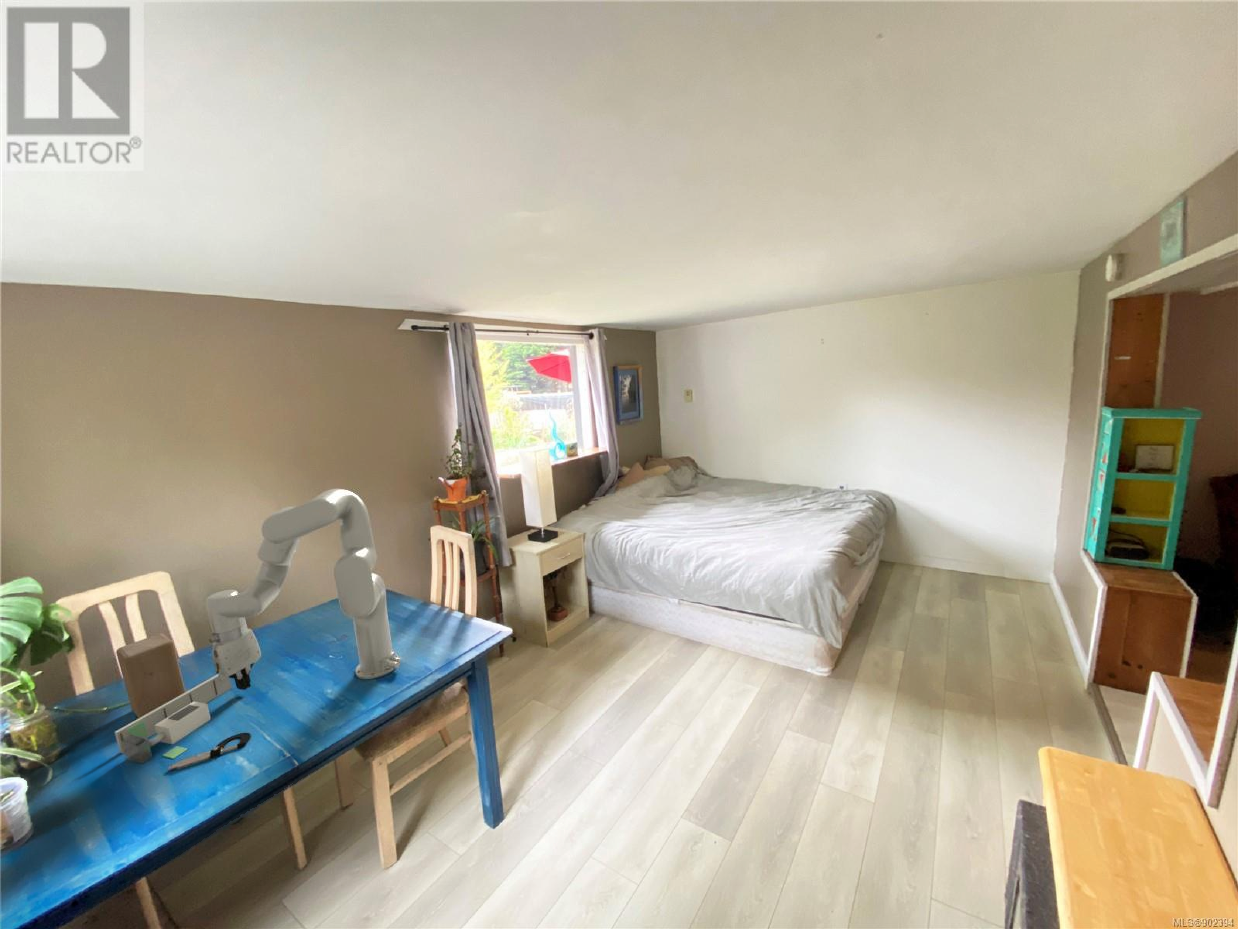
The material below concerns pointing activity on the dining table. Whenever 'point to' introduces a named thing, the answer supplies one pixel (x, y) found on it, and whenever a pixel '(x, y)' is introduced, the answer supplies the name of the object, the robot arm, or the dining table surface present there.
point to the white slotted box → (181, 723)
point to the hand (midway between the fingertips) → (244, 687)
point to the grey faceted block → (136, 749)
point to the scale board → (172, 709)
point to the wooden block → (150, 673)
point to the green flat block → (175, 752)
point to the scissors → (212, 751)
